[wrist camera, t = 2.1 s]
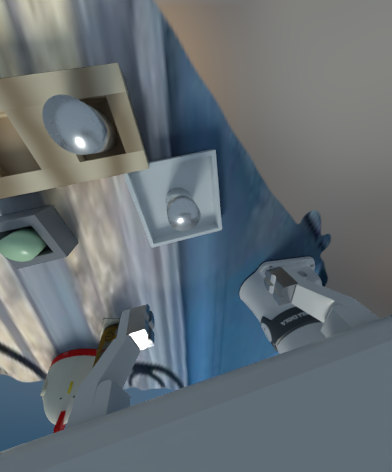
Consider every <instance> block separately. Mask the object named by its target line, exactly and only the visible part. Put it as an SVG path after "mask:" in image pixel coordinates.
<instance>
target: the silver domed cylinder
mask: <svg viewBox="0 0 392 472" xmlns="http://www.w3.org/2000/svg"><path fill="white" fill-rule="evenodd" d="M42 117H43V122H44V125H45V128H46V130H47V132H48V133H49V135H50V136H51V138H52V139H53V140H54V141H55V142H56V143H57V144H58V145H59V146H60V147H62V148H63V149H65V150H66V151H68V152H71V153H74V154H78V155H86V154H93V153H101V152H107V151H110V150H112V149H113V148H114V147H115V145H116V143H117V131H116V128H115V126H114V124H113V123H112V121H111V120H110V119H109V118H108V117H107V116H106V115H104V114H103V113H101V112H99V111H98V110H96V109H94V108H92V107H91V106H89V105H87V104H85V103H83V102H82V101H80V100H78V99H76V98H74V97H72V96H69V95H62V94H61V95H55V96H52V97H50V98H49V99H48V100H47V101H46V102H45V104H44V107H43V111H42Z"/></svg>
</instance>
